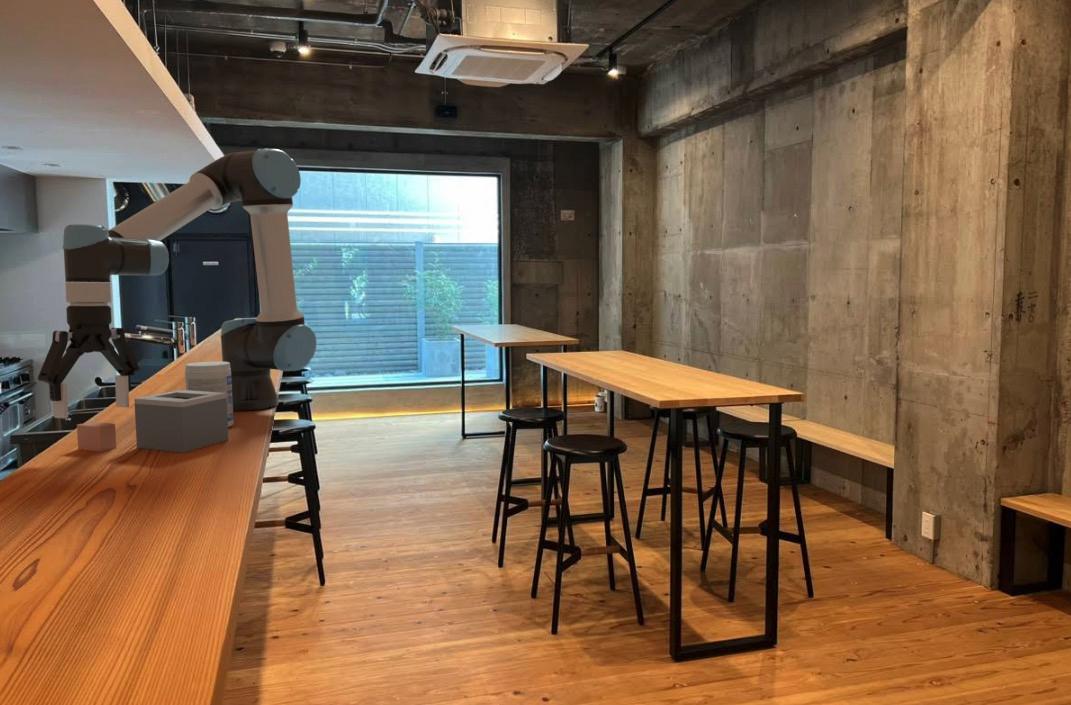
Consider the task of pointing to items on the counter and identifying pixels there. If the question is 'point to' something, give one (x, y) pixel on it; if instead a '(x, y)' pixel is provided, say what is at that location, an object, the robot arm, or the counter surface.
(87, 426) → the block
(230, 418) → the supplement tub
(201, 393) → the box
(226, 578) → the counter surface
